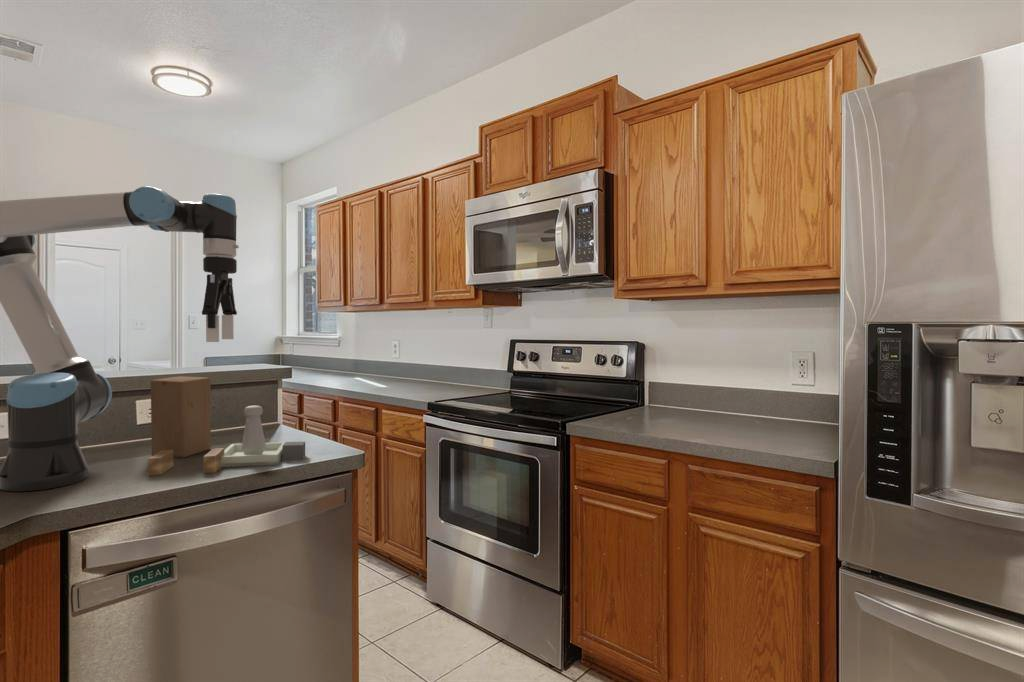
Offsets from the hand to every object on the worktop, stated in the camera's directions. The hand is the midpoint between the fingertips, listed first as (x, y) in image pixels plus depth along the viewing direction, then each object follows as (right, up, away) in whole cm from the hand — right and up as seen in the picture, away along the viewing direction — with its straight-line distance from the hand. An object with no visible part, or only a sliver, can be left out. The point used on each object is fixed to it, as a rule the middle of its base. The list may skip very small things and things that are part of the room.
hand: (220, 340), depth 142 cm
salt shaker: (+7, -30, +2) cm, 31 cm away
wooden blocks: (-3, -31, -8) cm, 32 cm away
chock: (+17, -31, +4) cm, 36 cm away
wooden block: (-14, -30, +7) cm, 34 cm away
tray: (+7, -31, +2) cm, 32 cm away
